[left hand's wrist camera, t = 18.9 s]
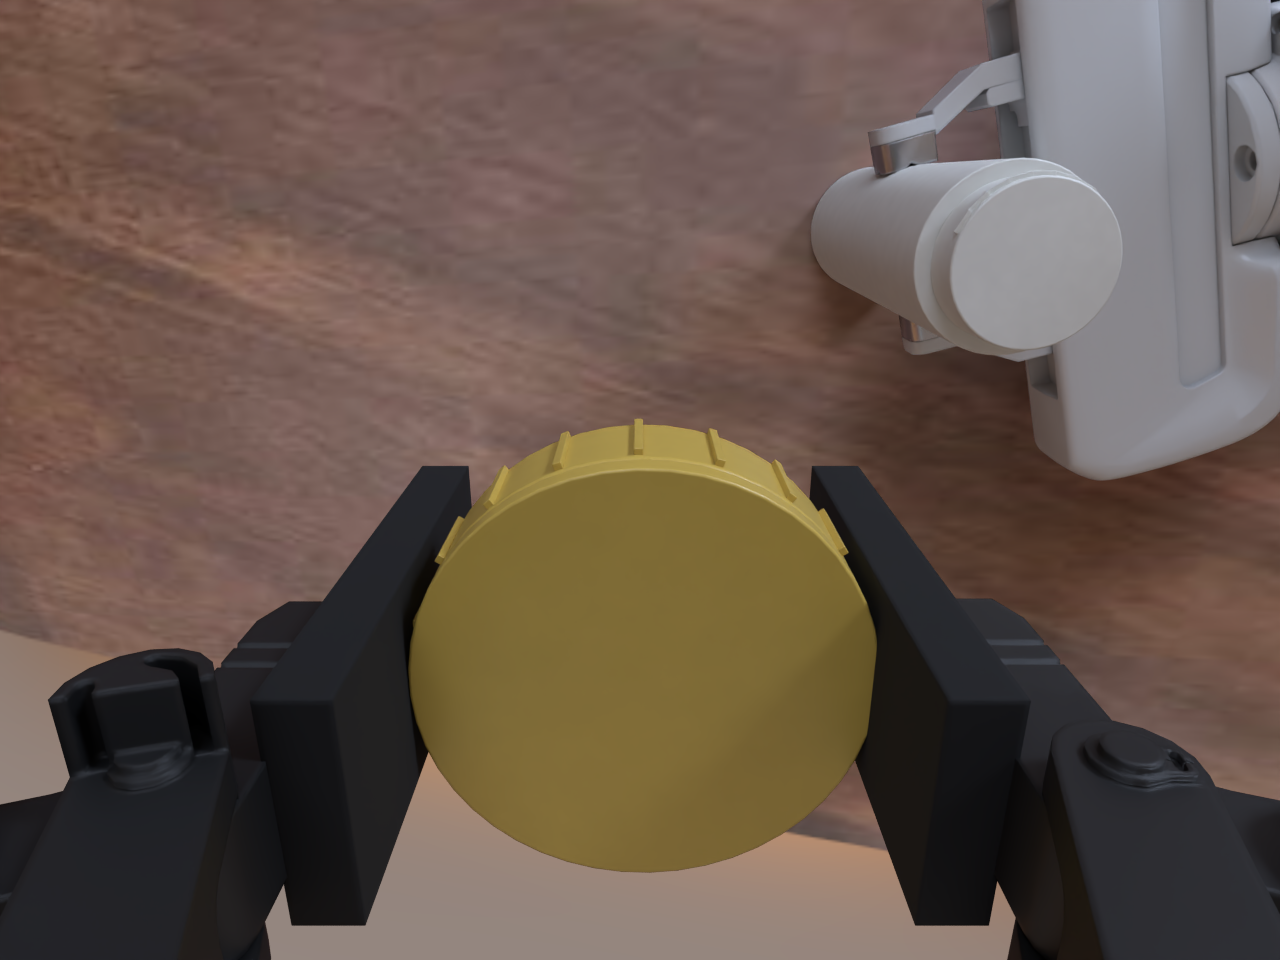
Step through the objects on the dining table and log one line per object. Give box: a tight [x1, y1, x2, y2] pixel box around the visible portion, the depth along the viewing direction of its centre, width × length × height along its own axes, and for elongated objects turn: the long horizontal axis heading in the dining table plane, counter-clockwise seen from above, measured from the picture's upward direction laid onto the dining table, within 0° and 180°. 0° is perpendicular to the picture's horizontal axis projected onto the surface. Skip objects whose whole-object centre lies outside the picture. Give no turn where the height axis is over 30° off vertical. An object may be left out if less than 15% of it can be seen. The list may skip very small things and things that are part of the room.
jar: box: [811, 158, 1123, 355], centre depth 28 cm, size 5×5×16 cm
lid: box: [408, 419, 877, 873], centre depth 11 cm, size 6×6×2 cm
